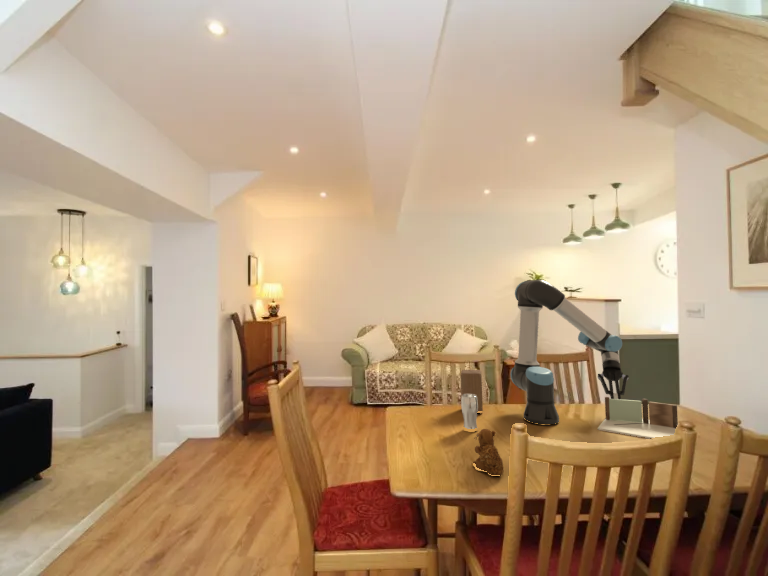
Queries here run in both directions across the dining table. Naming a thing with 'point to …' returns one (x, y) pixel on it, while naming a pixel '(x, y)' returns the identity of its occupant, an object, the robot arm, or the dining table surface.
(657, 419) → the fixed fence
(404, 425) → the dining table surface
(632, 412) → the green fence panel
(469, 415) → the beer glass
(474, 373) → the wooden block
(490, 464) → the brown plush animal
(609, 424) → the card
